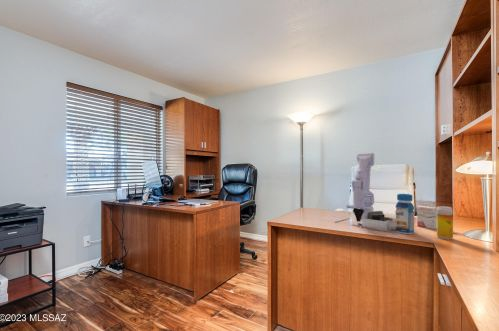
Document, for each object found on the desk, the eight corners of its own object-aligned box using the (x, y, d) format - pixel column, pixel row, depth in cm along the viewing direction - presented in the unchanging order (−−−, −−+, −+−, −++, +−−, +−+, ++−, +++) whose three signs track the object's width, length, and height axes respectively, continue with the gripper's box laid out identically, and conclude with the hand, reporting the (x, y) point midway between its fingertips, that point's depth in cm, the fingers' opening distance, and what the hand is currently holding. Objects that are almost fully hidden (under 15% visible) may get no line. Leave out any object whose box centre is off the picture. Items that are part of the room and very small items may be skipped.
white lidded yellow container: (454, 240, 112) (453, 208, 112) (437, 238, 115) (437, 207, 115) (451, 237, 117) (451, 206, 117) (436, 235, 120) (435, 205, 121)
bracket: (373, 223, 148) (373, 213, 148) (396, 227, 138) (396, 217, 138) (362, 226, 138) (362, 216, 139) (387, 231, 128) (386, 220, 128)
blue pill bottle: (417, 235, 122) (417, 195, 122) (399, 234, 123) (399, 195, 123) (409, 230, 130) (409, 193, 130) (392, 230, 131) (392, 193, 132)
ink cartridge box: (417, 226, 139) (416, 201, 140) (418, 225, 143) (418, 200, 143) (435, 229, 134) (435, 202, 134) (436, 227, 137) (436, 201, 137)
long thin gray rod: (348, 218, 161) (348, 218, 161) (350, 218, 161) (350, 218, 161) (334, 222, 150) (334, 222, 150) (335, 222, 149) (335, 222, 149)
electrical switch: (379, 225, 142) (380, 209, 142) (385, 228, 137) (386, 212, 136) (364, 225, 142) (365, 210, 141) (369, 228, 137) (370, 212, 136)
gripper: (343, 198, 150) (344, 220, 150) (367, 200, 139) (367, 224, 139) (349, 197, 155) (349, 218, 155) (372, 199, 144) (373, 222, 144)
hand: (358, 221), depth 147 cm, fingers closed
